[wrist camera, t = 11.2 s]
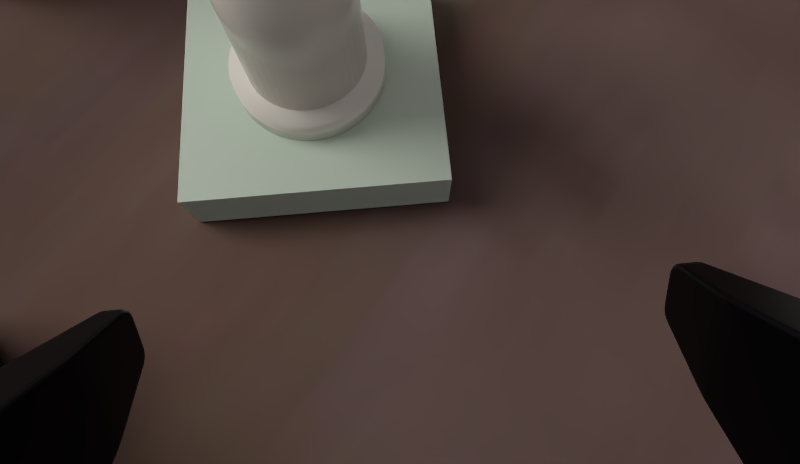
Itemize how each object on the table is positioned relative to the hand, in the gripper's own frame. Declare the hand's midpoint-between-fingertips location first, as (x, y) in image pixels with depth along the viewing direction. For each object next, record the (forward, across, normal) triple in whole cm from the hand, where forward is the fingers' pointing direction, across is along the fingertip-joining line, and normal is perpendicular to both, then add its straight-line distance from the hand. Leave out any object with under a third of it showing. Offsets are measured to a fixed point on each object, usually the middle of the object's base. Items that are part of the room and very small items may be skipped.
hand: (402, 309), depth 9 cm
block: (+18, +3, +1) cm, 19 cm away
